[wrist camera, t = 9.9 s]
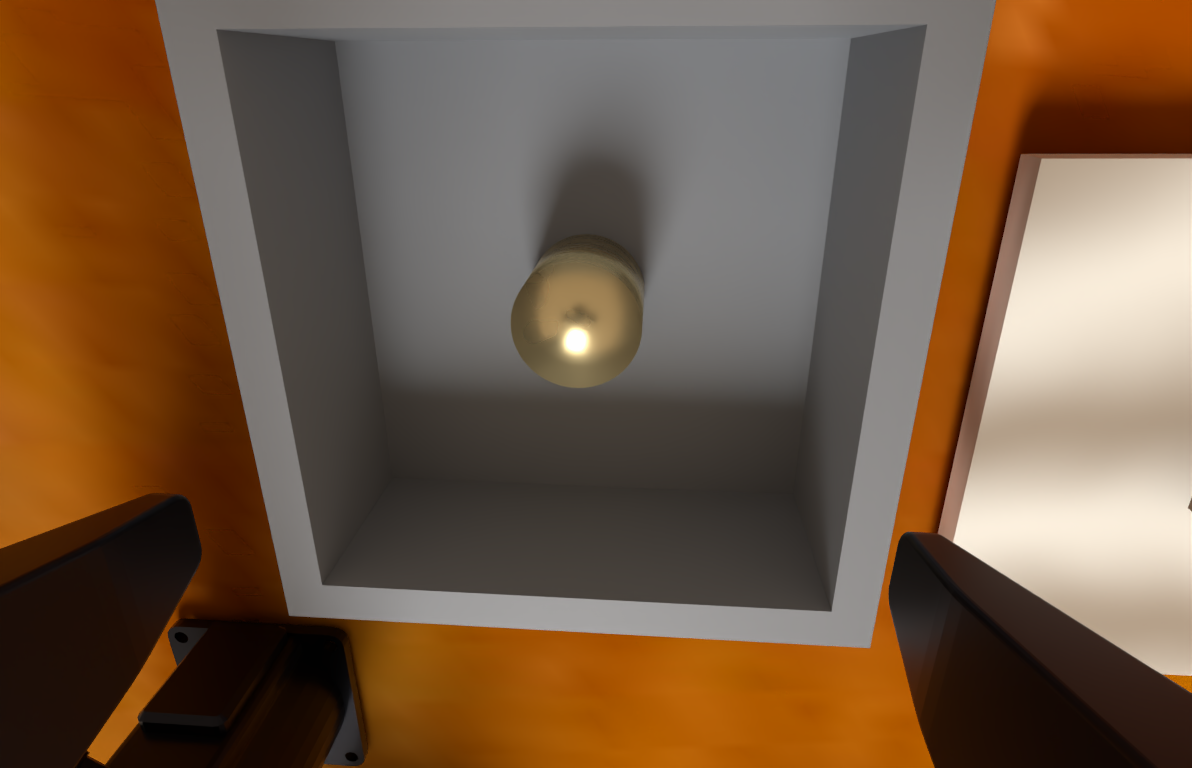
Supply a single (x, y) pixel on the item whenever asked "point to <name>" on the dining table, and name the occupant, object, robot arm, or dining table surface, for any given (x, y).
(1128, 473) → the lid
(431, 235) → the box
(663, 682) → the dining table surface
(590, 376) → the brass piece
